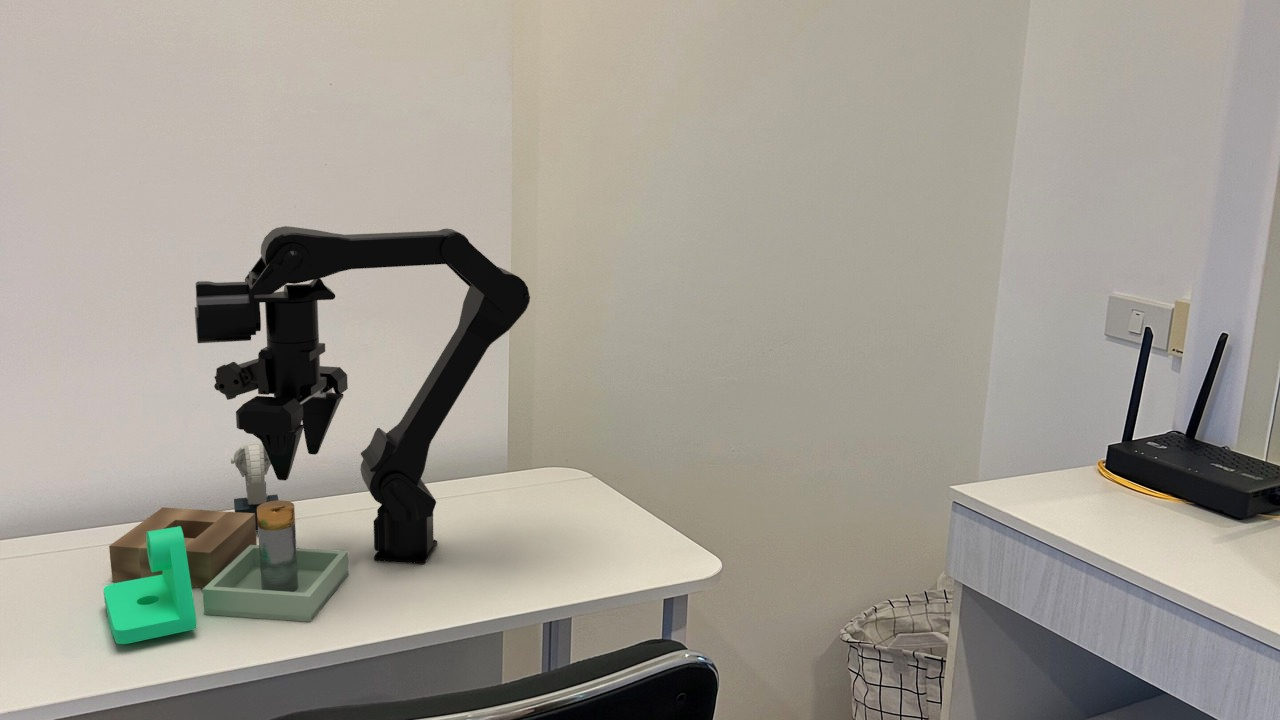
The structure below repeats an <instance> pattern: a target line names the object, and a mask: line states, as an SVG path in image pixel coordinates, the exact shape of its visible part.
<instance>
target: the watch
mask: <svg viewBox="0 0 1280 720" xmlns="http://www.w3.org/2000/svg"><path fill="white" fill-rule="evenodd" d="M230 464H231V465H233V464H234V465H235V467H236V469H238V471H239V474H240V475H241V477H242V478H244V480H245V490H246V497H239V498H238V497H237V498H233V504H234V505H233V506H234V507H233V508H234V512H241V513H255V523H256V530H258V521H257V507H258V506H259V505H261V504H263V503H266V502H270V501H278V500H279V496H278V494H269V495H268V493H267V481H265V478H266V477H265V476H267V474H268V471H269V469H270V466H272V464H271V462H270V460H269V457H268V455H267V452H266V450H265V448H264V446H263V444H262V442H261V443H259V442H251V443H246V444H244V445H241V446H240V447H238V448H237V449H236V450H235V451H234V454H233V457H230Z"/></svg>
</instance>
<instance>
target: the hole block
mask: <svg viewBox="0 0 1280 720" xmlns="http://www.w3.org/2000/svg"><path fill="white" fill-rule="evenodd" d="M178 526H181V528H182V531H183V536H184V541H185V548H186V554H187V561H188V567H189V574H190V581H191V587H192V588H196V589H203V588H204V587H205V586H207V585H208V584H209V583H210V582H211V581H212V580H213V579H214V578H215V577H216V576H217V575H218V574H219V573H221V572H222V571H223V570H224V569H225V568H226V567H227V566H228V565H229V564H230V563H231V562H232V561H233V560H235V559H236V558H237V557H238V556H239V555H240V554H241V553H242V552H243V551H244V550H245V549H246V548H247V547H248V546H250V545H258V544H257V531H256V523H255V513H241V512H235V511H227V510H226V511H224V510H208V509H207V510H206V509H193V508H191V509H190V508H178V507H177V508H176V507H161V508H160V509H159V510H156V512H154V513H153V514H152V515H149V517H147V518H146V519H144V520H143V521H142V522H140V523H139V524H137V525H136V526H135V527H133V528H131V530H129V531H128V532H126V533H125V534H124V535H122V536H120V537H119V538H118V539H117V540H115V541H114V542H112V543H111V544H110V545H108V549H109V560H110V569H111V571H110V572H111V580H112V582H113V583H119V582H124V581H130V580H135V579H140V578H146V577H151V576H157V575H162V571H157V572H151V569H150V565H149V559H148V552H147V542H146V533H147V532H148V531H154V530H160V529H166V528H172V527H178ZM112 582H111V583H112Z"/></svg>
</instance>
